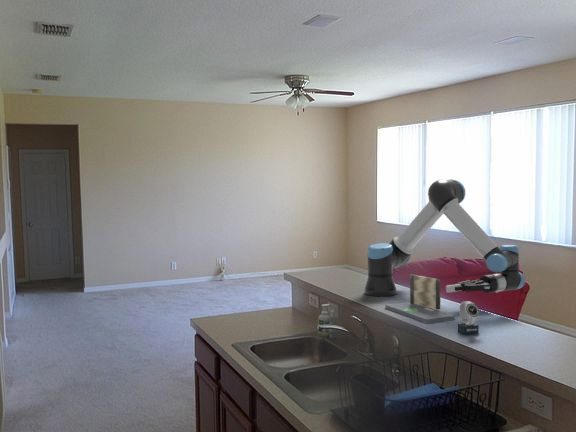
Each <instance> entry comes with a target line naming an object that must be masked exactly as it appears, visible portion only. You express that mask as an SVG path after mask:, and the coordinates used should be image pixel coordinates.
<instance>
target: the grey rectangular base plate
mask: <svg viewBox="0 0 576 432" xmlns="http://www.w3.org/2000/svg"><path fill="white" fill-rule="evenodd" d="M385 309H387V310H389V311H392V312H395V313H398V314H400V315H403V316H405V317H408V318H411V319H413V320H416V321H419V322H421V323H424V324H431V323H432V324H433V323H439V322H446V321H452V320H453V321H454V320H455V319H456V317H455V314H451V313H447V312H445V311H441V310H440V309H439V310H437V309H433V308H429V307H425V306H420V305H416V304H410V301H405V302H397V303H391V304H390V303H388V304H385Z"/></svg>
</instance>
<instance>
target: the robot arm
mask: <svg viewBox="0 0 576 432" xmlns="http://www.w3.org/2000/svg"><path fill="white" fill-rule="evenodd" d="M427 196H428V202H427V204H426V205H425V206H424V207H423V208H422V210H420V211H419V213H418V214H417V215H416V216H415V217H414V219H412V221H411V222H410V223H409V225H407V227H406V228H405V229H404V230H403V231H402V233H401V234H400V235H399V236H395V237H393V238H392V240H390V242H389V243H388V242H386V243H385V242H381V243H374V244H371V245H369V246H368V247H367V278H366V279H367V280H366V282H365V287H364V294H365V295H367V296H372V297H390V296H395V295H397V294H398V293H397V291H398V290H397V286H396V283H395V280H394V278H393V275H394V273H393V269H396V268H401V267H403V266H405V265H407V263H409V261H410V259H411V256H412V255H413V253H414V248H415V247H416V245H417V244H418V243H419V242H420V241H421V239H422V238H423V237H424V236H425V235H426V234H427V233H428V231H430V229H431V228H433V226H434V225H435V224H436V222H437V221H438V220H439V219H440V218H441V217H442V216H443V215H444V216H445V217H446V218H447V219H448V220H449V221H450V223H452V225H453V226H454V227H455V228H456V229H457V230H458V231H459V233H460V234H461V235H462V236H463V237H464V238H465V239H466V241H467V242H468V243H470V244H471V246H472V247H473V248H474V249H475V250H476V252H477V253H478V254H479V255H480V256H481V257H482V258H483V259H484V261H485V264H486V267H487V269H488V271H491V272H493V274H485V275H482V276H481V277H479V278H480V279H475V280H470V279H467V280H465V281H464V280H463V281H459V282H455V284H447V285H445V292H446V293H448V294H449V293H456V292H458V293H459V292H461V291H462V292H467V293H468V292H469V293H470V292H483V293H485V294H492V293H496V294H498V293H499V292H505V291H515V290H519V289H522V288H523V287H524V286H525V284H526V283H525V282H526V280H525V277H524V276H525V275H524V274H523V273H522V272H520V269H519V267H520V264H519V261H520V259H519V256H520V252H519V247H518V246H517V245H516V244H501V245H500V247H499V246H498V245H497V244H496V243H495V242H494V240H493V239H492V238H491V237H490V236H489V235H488V234H487V233H486V232H485V231H484V230H483V228H481V226H480V225H479V224H478V223H477V222H476V221H475V220H474V219H473V217H471V215H470V214H469V213H468V212H467V211H466V210H465V209H464V208H463V206H461V203H462V202H463V201H464V200H465V197H466V188H465V186H464V184H463V183H462V182H461V181H460V180H457V179H452V178H450V179H438V180H436V181H433V182H432V184H430V185H429V187H428V191H427Z"/></svg>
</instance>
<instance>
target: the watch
mask: <svg viewBox="0 0 576 432" xmlns="http://www.w3.org/2000/svg"><path fill="white" fill-rule="evenodd" d="M479 314H480V309H479V307H478V306H477V304H475V303H474V302H472V301H470V300H469V301H468V300H467V301H461V303H460V305H459V316H460V319H461V322H458V323H457V333H459V334H461V335H463V336H470V335H479V332H480V331H479V327H480V326H479V324H477V323H476V322H477V320H478V319H479Z"/></svg>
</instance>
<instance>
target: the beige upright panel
mask: <svg viewBox="0 0 576 432" xmlns="http://www.w3.org/2000/svg"><path fill="white" fill-rule="evenodd" d="M409 302H410V304H416V305H420V306H425V307H429V308H433V309H436V310H439V311H440V310H441V279H439V278H434V277H428V276H425V275H418V274H409Z"/></svg>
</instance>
